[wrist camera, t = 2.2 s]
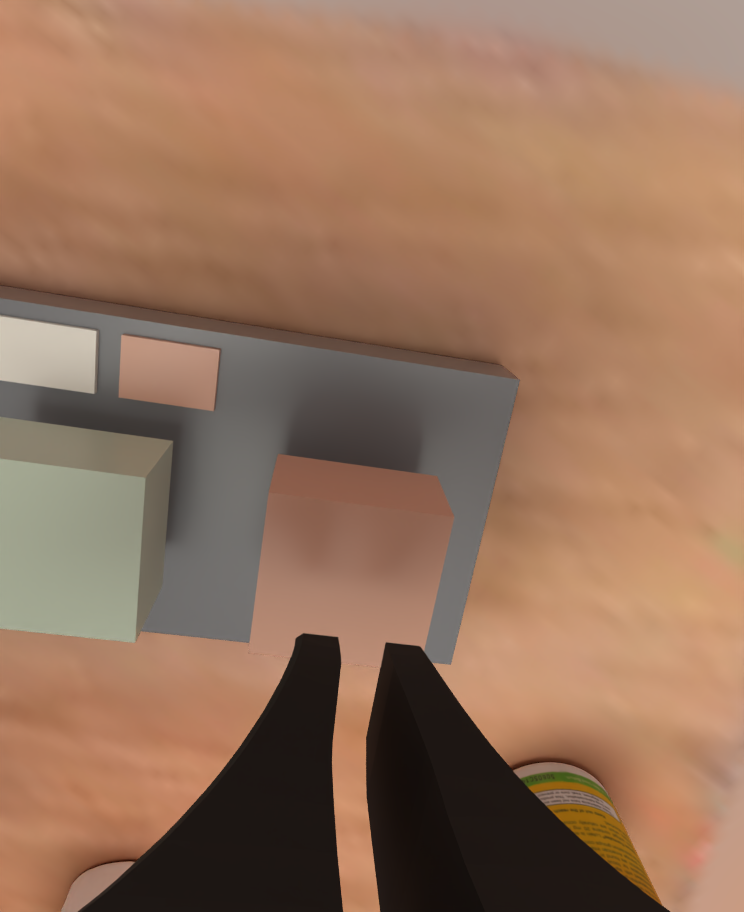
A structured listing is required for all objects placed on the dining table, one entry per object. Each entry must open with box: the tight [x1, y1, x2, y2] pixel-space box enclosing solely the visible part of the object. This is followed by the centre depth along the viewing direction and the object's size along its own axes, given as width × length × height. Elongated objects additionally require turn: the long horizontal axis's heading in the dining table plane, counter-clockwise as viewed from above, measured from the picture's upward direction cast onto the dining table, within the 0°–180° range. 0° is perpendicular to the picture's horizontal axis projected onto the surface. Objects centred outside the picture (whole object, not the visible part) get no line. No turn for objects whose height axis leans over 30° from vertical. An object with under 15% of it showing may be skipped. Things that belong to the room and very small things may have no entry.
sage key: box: [0, 417, 173, 643], centre depth 15 cm, size 4×4×2 cm
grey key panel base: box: [0, 285, 520, 665], centre depth 19 cm, size 21×9×2 cm, turn 80°
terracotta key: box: [248, 454, 454, 668], centre depth 16 cm, size 4×4×2 cm
